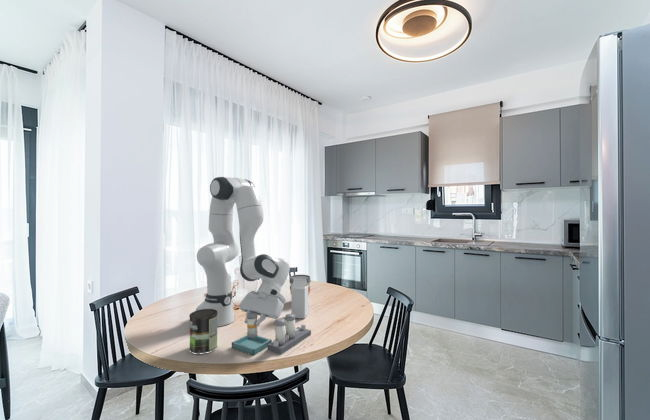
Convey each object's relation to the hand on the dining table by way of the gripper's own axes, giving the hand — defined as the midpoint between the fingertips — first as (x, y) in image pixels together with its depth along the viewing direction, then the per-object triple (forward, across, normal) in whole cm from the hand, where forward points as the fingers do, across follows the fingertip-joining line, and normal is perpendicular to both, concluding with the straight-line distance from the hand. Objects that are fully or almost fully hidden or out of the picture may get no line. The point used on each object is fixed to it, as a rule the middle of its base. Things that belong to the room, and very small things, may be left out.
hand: (251, 324), depth 116 cm
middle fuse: (-3, +11, +13) cm, 17 cm away
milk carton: (-20, -3, +33) cm, 39 cm away
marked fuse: (+3, 0, +4) cm, 5 cm away
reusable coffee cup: (-33, -16, +46) cm, 59 cm away
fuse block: (-2, +11, +15) cm, 18 cm away
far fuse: (+2, +11, +9) cm, 14 cm away
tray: (+6, 0, +7) cm, 9 cm away
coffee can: (+14, -15, -1) cm, 21 cm away
